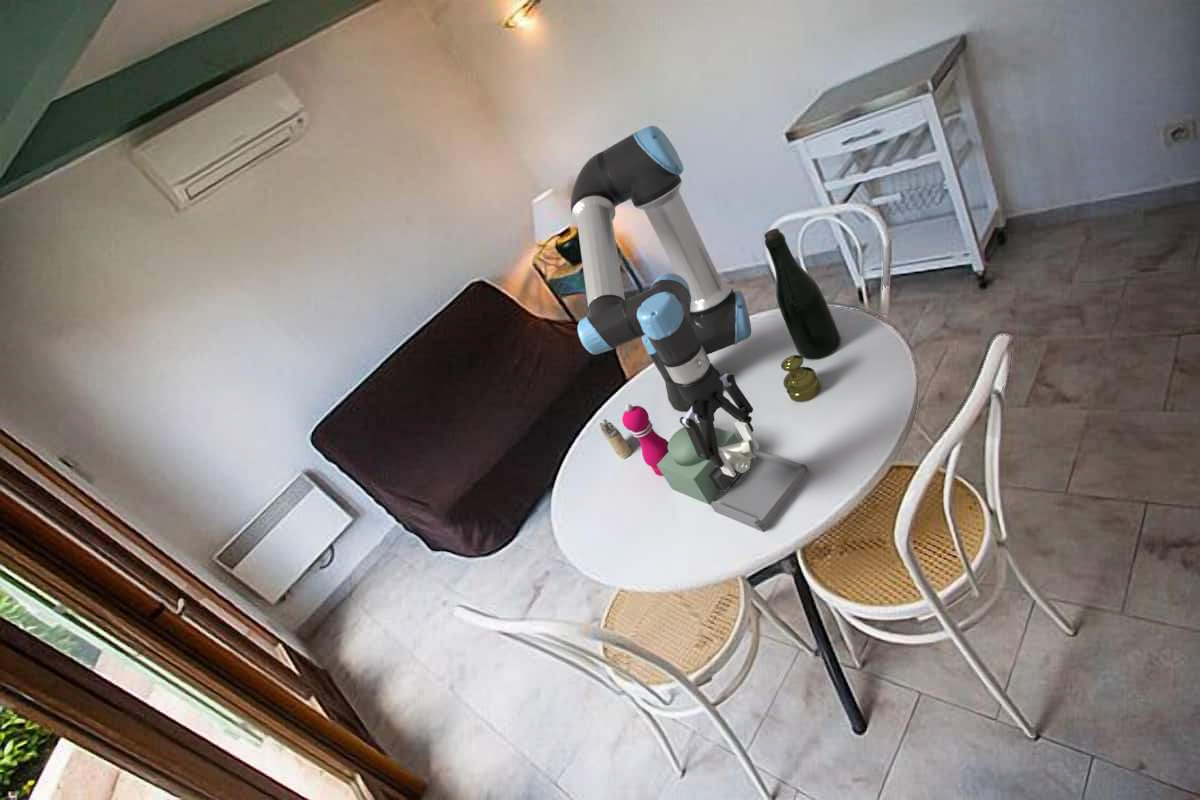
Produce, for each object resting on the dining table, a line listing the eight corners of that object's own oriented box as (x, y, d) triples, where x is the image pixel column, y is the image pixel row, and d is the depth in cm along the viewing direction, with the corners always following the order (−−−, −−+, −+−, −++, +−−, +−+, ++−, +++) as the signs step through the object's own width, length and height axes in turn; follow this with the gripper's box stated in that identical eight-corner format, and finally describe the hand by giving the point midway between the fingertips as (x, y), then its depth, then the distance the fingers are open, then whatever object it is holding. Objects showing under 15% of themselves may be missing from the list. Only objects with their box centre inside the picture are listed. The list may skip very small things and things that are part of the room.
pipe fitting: (756, 474, 122) (756, 448, 127) (748, 460, 120) (748, 435, 125) (717, 483, 126) (718, 457, 131) (708, 470, 124) (710, 445, 129)
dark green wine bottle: (849, 333, 156) (802, 214, 140) (831, 361, 151) (781, 242, 135) (810, 334, 164) (762, 222, 148) (791, 361, 159) (740, 248, 143)
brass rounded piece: (828, 384, 146) (813, 350, 141) (808, 405, 143) (792, 371, 139) (802, 378, 152) (787, 345, 147) (783, 399, 150) (767, 366, 145)
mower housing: (672, 489, 145) (650, 455, 140) (710, 446, 150) (690, 412, 145) (717, 508, 134) (695, 472, 128) (757, 461, 138) (737, 424, 133)
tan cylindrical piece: (613, 449, 170) (594, 422, 165) (624, 440, 170) (606, 413, 165) (623, 460, 163) (604, 433, 158) (635, 451, 164) (616, 423, 159)
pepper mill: (682, 452, 154) (644, 390, 144) (677, 474, 148) (637, 412, 139) (656, 458, 157) (616, 398, 148) (650, 480, 152) (609, 419, 142)
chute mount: (714, 511, 133) (710, 504, 132) (760, 457, 138) (756, 450, 137) (762, 532, 123) (758, 524, 122) (810, 472, 128) (806, 465, 127)
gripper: (670, 412, 109) (724, 502, 120) (740, 338, 116) (786, 429, 127) (643, 405, 115) (697, 491, 126) (711, 335, 122) (757, 422, 133)
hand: (741, 460), depth 126 cm, fingers closed on pipe fitting, 7 cm apart
